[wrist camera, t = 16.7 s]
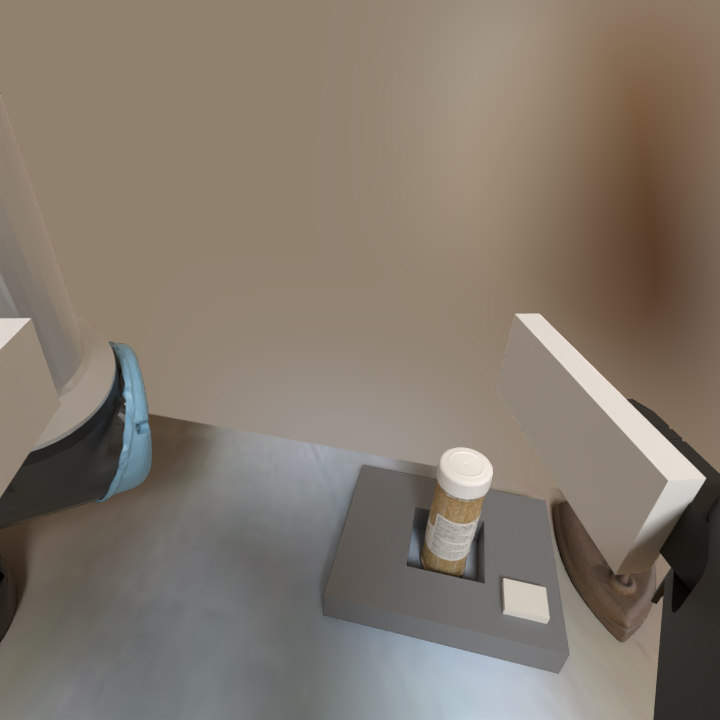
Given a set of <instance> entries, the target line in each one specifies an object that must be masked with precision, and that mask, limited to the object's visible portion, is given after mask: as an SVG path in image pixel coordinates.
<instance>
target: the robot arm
mask: <svg viewBox="0 0 720 720" xmlns="http://www.w3.org/2000/svg"><path fill="white" fill-rule="evenodd" d="M496 391H497V393H498V394H499V396H500V397H501V399H502V401H503V402H504V404H505V405H506V407H507V408H508V410H509V411H510V413H511V415H512V416H513V418H514V419H515V421H516V422H517V424H518V425H519V427H520V428H521V430H522V432H523V433H524V435H525V436H526V438H527V439H528V441H529V442H530V444H531V445H532V447H533V449H534V450H535V451H536V453H537V455H538V456H539V458H540V459H541V461H542V462H543V464H544V466H545V467H546V469H547V470H548V472H549V473H550V475H551V476H552V478H553V479H554V481H555V482H556V484H557V486H558V487H559V489H560V490H561V492H562V493H563V495H564V497H565V498H566V500H567V501H568V503H569V504H570V506H571V507H572V509H573V510H574V512H575V514H576V515H577V517H578V518H579V520H580V521H581V523H582V524H583V526H584V527H585V529H586V531H587V532H588V534H589V535H590V537H591V538H592V540H593V541H594V543H595V544H596V546H597V548H598V549H599V551H600V552H601V554H602V555H603V557H604V558H605V560H606V562H607V563H608V565H609V566H610V568H611V569H612V571H613V572H614V574H615V575H621V574H631V573H641V572H648V571H649V570H650V568H651V567H652V565H653V563H654V562H655V560H656V559H657V557H658V555H659V554H660V553H661V555H662V556H663V557H664V558H665V560H666V561H667V562H668V564H669V565H670V566H671V569H670V570H669V572H668V573H667V575H666V576H665V578H664V579H663V581H662V582H661V584H660V585H659V587H658V588H657V590H656V591H655V593H654V595H653V597H652V599H651V602H653V603H655V604H657V603H658V601H659V600H660V598H661V597H662V596H664V597H663V609H662V621H661V634H660V646H659V658H658V670H657V683H656V695H655V707H654V719H653V720H720V474H719V473H718V472H717V471H716V470H715V469H714V468H713V467H712V466H711V465H710V464H709V463H708V462H706V461H705V460H704V459H703V458H702V457H701V456H700V455H699V454H698V453H697V452H696V451H695V450H694V449H693V448H692V447H690V445H688V444H687V443H686V442H683V441H682V438H681V437H680V436H679V435H678V434H677V433H676V432H675V431H674V430H673V429H669V426H668V425H667V424H666V423H665V422H664V421H663V420H662V419H661V418H660V417H659V416H658V415H657V414H656V413H655V412H653V411H652V410H650V409H648V408H647V407H645V406H643V405H642V404H640V403H638V402H637V401H635V400H633V399H625V398H624V397H623V396H622V395H621V394H620V393H619V392H618V391H617V390H616V389H615V388H614V387H613V386H612V385H611V384H610V383H609V382H608V381H607V380H606V379H605V378H604V377H603V376H602V375H601V374H600V373H599V372H598V371H597V370H596V369H595V368H594V367H593V366H592V365H591V364H590V363H589V362H588V361H587V360H586V359H585V358H583V356H582V355H581V354H580V353H579V352H578V351H577V350H576V349H575V348H574V347H573V346H571V344H570V343H568V342H567V341H566V340H565V339H564V338H563V337H562V336H561V335H560V334H559V333H558V332H557V331H556V330H555V329H554V328H553V327H552V326H551V325H550V324H549V323H548V322H547V321H546V320H545V319H544V318H543V317H542V316H541V315H540V314H515V316H514V320H513V324H512V328H511V332H510V336H509V340H508V344H507V347H506V352H505V355H504V359H503V363H502V367H501V371H500V375H499V379H498V383H497V387H496ZM148 421H149V418H148V405H147V399H146V393H145V388H144V383H143V378H142V374H141V371H140V367H139V363H138V360H137V357H136V355H135V352H134V351H133V349H132V348H131V347H130V346H128V345H126V344H122V343H116V344H115V343H113V342H108V341H107V339H106V338H105V336H104V335H103V333H101V332H100V331H99V330H98V329H97V328H96V327H95V326H94V325H92V324H91V323H89V322H87V321H86V320H84V319H82V318H80V317H78V316H75V315H74V312H73V309H72V306H71V303H70V300H69V297H68V294H67V291H66V288H65V285H64V282H63V279H62V276H61V273H60V270H59V267H58V264H57V261H56V258H55V255H54V252H53V249H52V246H51V243H50V240H49V237H48V234H47V231H46V228H45V225H44V222H43V219H42V216H41V213H40V210H39V207H38V204H37V201H36V198H35V195H34V192H33V189H32V186H31V183H30V180H29V177H28V174H27V171H26V168H25V165H24V162H23V160H22V156H21V153H20V150H19V147H18V144H17V141H16V138H15V135H14V132H13V129H12V126H11V123H10V120H9V118H8V114H7V112H6V108H5V106H4V102H3V100H2V96H1V93H0V529H3V528H7V527H10V526H13V525H17V524H20V523H23V522H27V521H30V520H33V519H37V518H40V517H43V516H47V515H50V514H53V513H57V512H60V511H63V510H67V509H70V508H73V507H77V506H80V505H83V504H86V503H90V502H102V501H105V500H107V499H108V498H110V497H111V496H112V495H115V494H118V493H120V492H123V491H126V490H129V489H132V488H135V487H136V486H138V485H140V484H141V483H142V482H143V481H144V480H145V479H146V478H147V476H148V474H149V472H150V468H151V462H152V440H151V431H150V427H149V424H148ZM16 601H17V586H16V581H15V578H14V576H13V574H12V572H11V570H10V569H9V567H8V565H7V563H6V562H5V560H4V558H3V557H2V556H1V555H0V640H1V639H2V637H3V635H4V634H5V632H6V630H7V628H8V626H9V624H10V622H11V619H12V617H13V614H14V611H15V607H16Z"/></svg>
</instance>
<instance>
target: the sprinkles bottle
mask: <svg viewBox="0 0 720 720" xmlns="http://www.w3.org/2000/svg"><path fill="white" fill-rule="evenodd" d="M492 476H493V468H492V466H491V463H490V462H489V460H488V459H487V458H486V457H485V456H484V455H482V454H481V453H479V452H477V451H475V450H473V449H469V448H463V447H458V448H452V449H449V450H447V451H445V452H444V453H443V454H442V455H441V457H440V459H439V463H438V468H437V473H436V477H437V484H436V489H435V493H434V498H433V502H432V505H431V509H430V514H429V518H428V523H427V528H426V533H425V542H424V547H423V549H422V551H421V563H422V566H423V568H424V569H425V570H427V571H431V572H435V573H440V574H444V575H449V576H453V577H457V578H460V577H461V576H462V575H463V573H464V571H465V567H466V559H467V555H468V553H469V551H470V549H471V545H472V542H473V538H474V535H475V531H476V528H477V524H478V521H479V517H480V514H481V507H482V504H483V500H484V497H485V495H486V493H487V492H488V490H489V487H490V484H491V480H492Z"/></svg>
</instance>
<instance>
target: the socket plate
mask: <svg viewBox="0 0 720 720" xmlns="http://www.w3.org/2000/svg"><path fill="white" fill-rule="evenodd" d="M436 484H437V479H433V478H428V477H423V476H418V475H413V474H408V473H403V472H398V471H392V470H387V469H382V468H377V467H372V466H367V465H363V466H362V469H361V472H360V476H359V479H358V482H357V486H356V489H355V492H354V496H353V499H352V502H351V506H350V509H349V512H348V516H347V519H346V522H345V526H344V529H343V532H342V536H341V539H340V542H339V546H338V549H337V552H336V556H335V559H334V563H333V566H332V569H331V573H330V576H329V579H328V583H327V586H326V589H325V593H324V606H323V615H326V616H330V617H334V618H338V619H342V620H346V621H350V622H354V623H358V624H362V625H366V626H370V627H374V628H378V629H382V630H386V631H390V632H394V633H398V634H402V635H406V636H410V637H414V638H418V639H422V640H426V641H430V642H434V643H438V644H442V645H446V646H450V647H454V648H458V649H462V650H466V651H470V652H474V653H478V654H482V655H486V656H490V657H494V658H498V659H502V660H506V661H510V662H514V663H518V664H522V665H526V666H530V667H534V668H538V669H542V670H546V671H550V672H554V673H558V674H559V672H560V671H561V669H562V667H563V665H564V664H565V662H566V660H567V658H568V656H569V655H570V654H569V648H568V641H567V635H566V629H565V622H564V616H563V609H562V603H561V597H560V590H559V584H558V577H557V571H556V565H555V558H554V552H553V545H552V539H551V533H550V526H549V520H548V513H547V507H546V501H544V500H539V499H534V498H529V497H524V496H519V495H514V494H509V493H504V492H499V491H494V490H488V492H487V493H486V495H485V497H484V500H483V504H482V507H481V514H480V517H479V521H478V524H477V528H476V531H475V535H474V538H473V539H474V540H479V541H478V582H475V581H471V580H466V579H462V578H457V577H453V576H449V575H444V574H440V573H435V572H431V571H427V570H422V569H418V568H413V567H409V566H407V560H408V553H409V546H410V539H411V533H412V526H413V527H418V528H423V529H426V528H427V523H428V518H429V514H430V509H431V505H432V502H433V498H434V493H435V489H436Z"/></svg>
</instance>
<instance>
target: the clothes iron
mask: <svg viewBox="0 0 720 720" xmlns="http://www.w3.org/2000/svg"><path fill="white" fill-rule="evenodd" d="M553 520H554V527H555V534H556V540H557V544H558V548H559V551H560V553H561V558H562V561H563V563H564V566H565V568H566V570H567V573H568V575H569V577H570V579H571V581H572V582H573V584H574V586H575V588H576V590H577V591H578V593H579V594H580V595H581V597H582V599H583V600H584V601H585V602H586V604H587V606H588V607H589V608H590V610H591V611H592V612H593V614H594V615H595V616H596V617H597V618H598V620H599V621H600V622H601V623H602V624H603V625H604V626H605V628H606V629H607V630H608V631H609V632H610V633H611V634H612V635H613V636H614V637H615V638H616V639H617V640H619V641H620V642H624V641H626V640H627V639H628V638H629V637H630V636H631V635H632V634H633V633H634V632H635V631H636V630H637V629H638V628H639V627H640V626H641V624H642V623H643V622H644V620H645V618H646V617H647V615H648V613H649V611H650V609H651V607H652V604H653V602H651V599H652V597H653V595H654V593H655V590H656V569H655V562H654V563H653V565H652V567H651V568H650V570H649V571H648V572H641V573H631V574H621V575H615V574H614V572H613V571H612V569H611V568H610V566H609V565H608V563H607V562H606V560H605V558H604V557H603V555H602V554H601V552H600V551H599V549H598V548H597V546H596V544H595V543H594V541H593V540H592V538H591V537H590V535H589V534H588V532H587V531H586V529H585V527H584V526H583V524H582V523H581V521H580V520H579V518H578V517H577V515H576V514H575V512H574V510H573V509H572V507H571V506H570V504H569V503H568V502H562V503H560V504H556V505H554V507H553ZM659 555H660V554H659ZM659 555H658V557H659ZM658 557H657V559H658ZM657 559H656V560H657ZM656 560H655V561H656Z"/></svg>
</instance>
